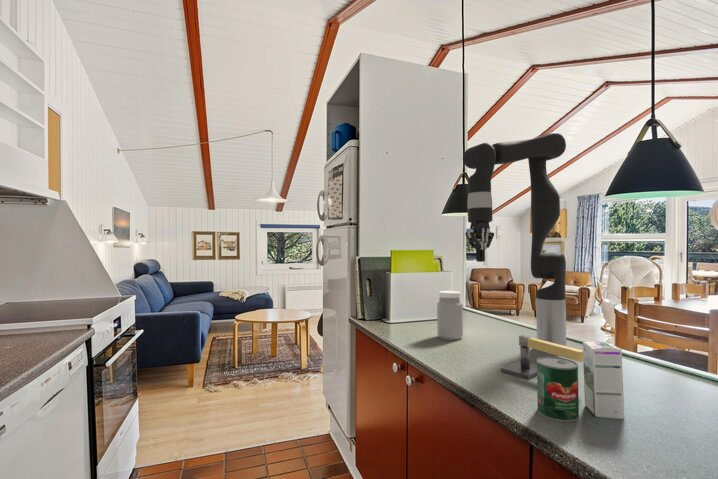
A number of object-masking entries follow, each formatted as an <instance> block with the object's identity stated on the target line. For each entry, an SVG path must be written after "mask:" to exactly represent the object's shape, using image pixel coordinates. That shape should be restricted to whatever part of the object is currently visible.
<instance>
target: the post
mask: <svg viewBox="0 0 718 479" xmlns="http://www.w3.org/2000/svg"><path fill="white" fill-rule="evenodd" d="M519 346H520V345H519ZM519 353H520V355H519V356H520V357H519V358H520V359H519V360H518V361H516V362H513V363H510V364H507V365H506V366H503V367H501V368H500V372H502V373H505V374H508V375H512V376H516V377H520V378H524V379H527V380H530V379H532V378H534V377H537V364H533V363H530V362H531V361H530V359H531V358H530V348H529V347H528V346H520V352H519Z"/></svg>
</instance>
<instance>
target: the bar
mask: <svg viewBox="0 0 718 479" xmlns="http://www.w3.org/2000/svg"><path fill="white" fill-rule="evenodd" d="M518 345H519V346H528V347H529V349H532V350H533V349H534V350H537V351H540V352H544V353H547V354H551V355H554V356H556V357H560V358H565V359H569V360H572V361H574V362H578V363H581V362H583V349H579V348H575V347H570V346H567V345H566V346H563V345H559V344H555V343H551V342H547V341H543V340H540V339H537V337H536V338H535V337H531V336H529V335H518Z"/></svg>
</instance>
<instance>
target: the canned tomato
mask: <svg viewBox="0 0 718 479" xmlns="http://www.w3.org/2000/svg"><path fill="white" fill-rule="evenodd" d="M536 365H537V376H536V381H537V382H536V383H537V385H536V387H537V389H536V390H537V391H536V392H537V396H536V397H537V408H536V409H537V413H538V414H539V415H540V416H542V417H543V418H545V419H548V420H551V421H556V422H562V423H573V422H577V421H578V420H579V419H580V414H579V412H580V407H579V406H580V405H579V404H580V403H579V364H578V363H577V361H575V360H571V359H568V358H564V357H560V356H541V357H538V358H536Z"/></svg>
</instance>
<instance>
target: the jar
mask: <svg viewBox="0 0 718 479" xmlns="http://www.w3.org/2000/svg"><path fill="white" fill-rule="evenodd" d="M461 294H462V292H461V291H458V290H440V291H439V292H438V297H439V299H438V302H437V303H436V304H437V307H436V311H437V313H436V314H437V315H436V316H437V317H436V318H437V319H436V320H437V321H436V322H437V336H438V337H439V338H440V339H442V340H446V341H459V340H461V339H462V338H463V336H464V322H463V321H464V317H463V315H464V314H463V313H464V312H463V310H464V309H463V306H464V305H463V303H462V302H461V298H460V297H462V296H461Z"/></svg>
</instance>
